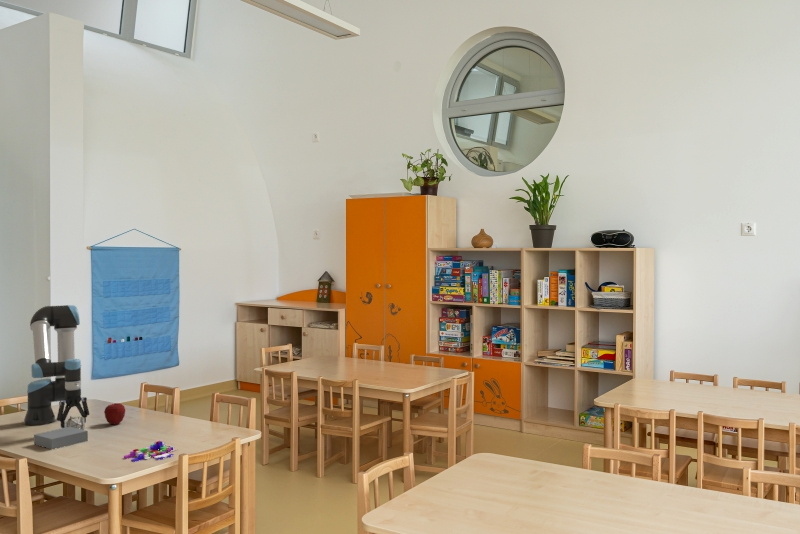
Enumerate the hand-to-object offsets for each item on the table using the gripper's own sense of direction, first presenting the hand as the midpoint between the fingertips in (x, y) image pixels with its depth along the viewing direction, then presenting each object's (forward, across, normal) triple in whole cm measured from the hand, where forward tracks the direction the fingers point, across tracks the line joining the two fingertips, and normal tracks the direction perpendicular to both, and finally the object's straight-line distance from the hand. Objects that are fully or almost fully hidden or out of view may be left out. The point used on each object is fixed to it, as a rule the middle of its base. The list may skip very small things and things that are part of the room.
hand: (73, 431), depth 343 cm
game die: (0, 0, 0) cm, 0 cm away
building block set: (+1, -2, -71) cm, 71 cm away
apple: (0, +22, -3) cm, 22 cm away
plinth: (0, -15, -15) cm, 21 cm away
